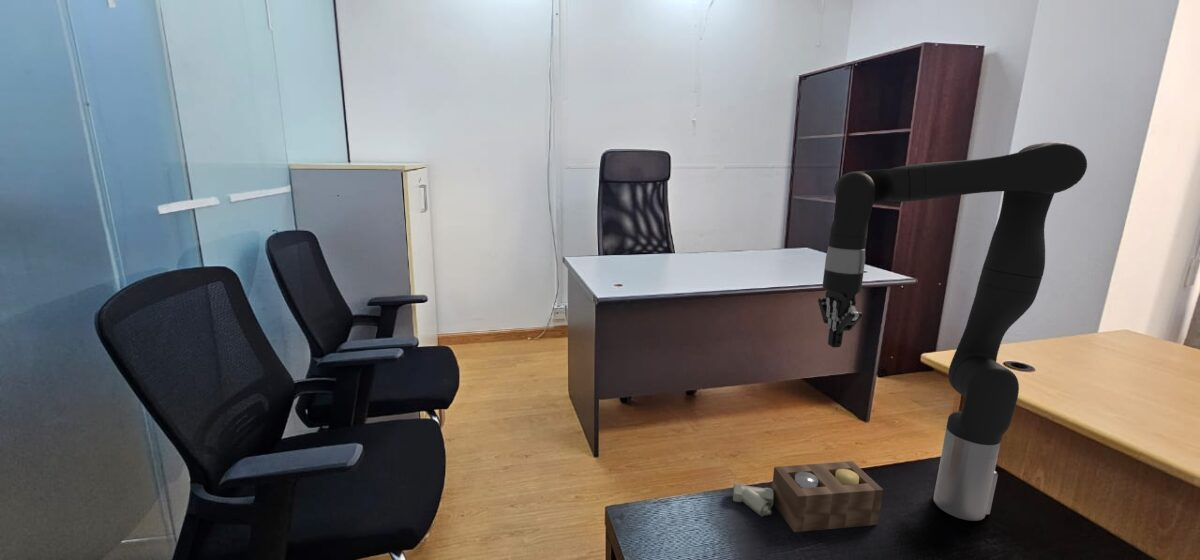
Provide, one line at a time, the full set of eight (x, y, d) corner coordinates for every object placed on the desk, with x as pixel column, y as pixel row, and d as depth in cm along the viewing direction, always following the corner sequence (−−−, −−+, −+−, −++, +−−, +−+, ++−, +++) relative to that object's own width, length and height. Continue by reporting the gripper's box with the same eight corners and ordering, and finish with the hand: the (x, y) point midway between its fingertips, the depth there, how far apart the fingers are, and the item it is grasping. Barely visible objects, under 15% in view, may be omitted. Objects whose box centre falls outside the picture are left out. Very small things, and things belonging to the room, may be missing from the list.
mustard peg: (846, 499, 111) (850, 468, 109) (859, 512, 107) (863, 480, 105) (827, 500, 111) (831, 469, 109) (839, 514, 106) (843, 482, 105)
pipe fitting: (773, 522, 106) (770, 499, 112) (775, 506, 105) (772, 484, 111) (733, 516, 107) (732, 494, 114) (734, 500, 106) (734, 479, 113)
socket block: (847, 493, 114) (852, 461, 113) (877, 524, 105) (883, 489, 103) (770, 499, 112) (774, 466, 110) (794, 532, 102) (798, 496, 100)
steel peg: (807, 502, 110) (810, 470, 108) (818, 516, 106) (822, 483, 104) (787, 504, 109) (791, 472, 108) (798, 518, 105) (802, 485, 103)
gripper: (881, 275, 104) (869, 356, 108) (841, 262, 116) (832, 335, 120) (846, 275, 103) (835, 358, 106) (810, 262, 115) (802, 336, 119)
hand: (834, 346), depth 113 cm, fingers closed
